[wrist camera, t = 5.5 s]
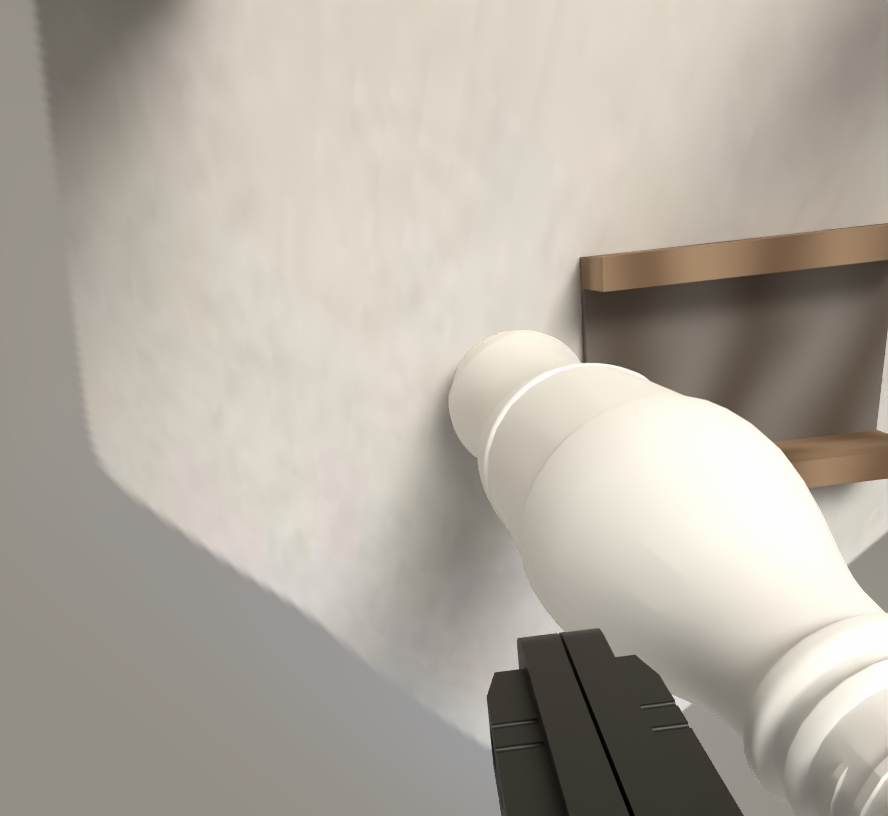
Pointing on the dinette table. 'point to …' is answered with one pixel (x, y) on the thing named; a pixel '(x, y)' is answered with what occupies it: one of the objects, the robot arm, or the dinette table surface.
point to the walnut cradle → (759, 336)
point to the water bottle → (686, 559)
